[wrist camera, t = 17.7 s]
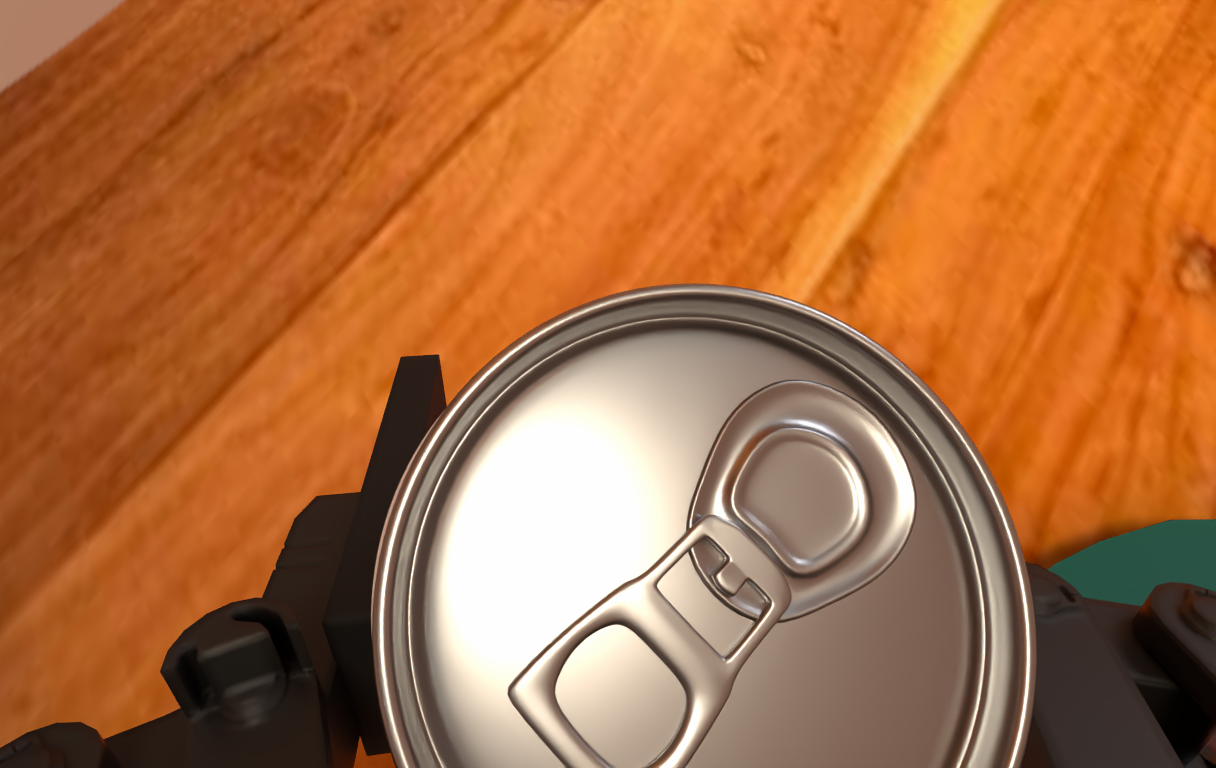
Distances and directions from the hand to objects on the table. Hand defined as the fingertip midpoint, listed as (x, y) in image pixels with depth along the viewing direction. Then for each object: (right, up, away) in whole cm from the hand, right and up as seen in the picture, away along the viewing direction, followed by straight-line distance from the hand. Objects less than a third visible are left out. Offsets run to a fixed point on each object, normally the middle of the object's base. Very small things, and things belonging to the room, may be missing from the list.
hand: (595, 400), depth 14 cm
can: (0, -5, +3) cm, 6 cm away
